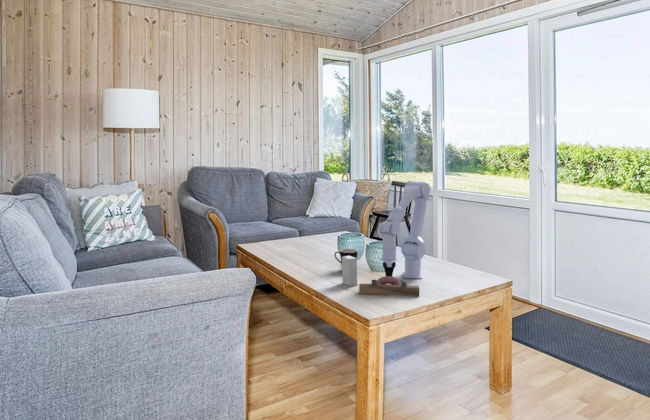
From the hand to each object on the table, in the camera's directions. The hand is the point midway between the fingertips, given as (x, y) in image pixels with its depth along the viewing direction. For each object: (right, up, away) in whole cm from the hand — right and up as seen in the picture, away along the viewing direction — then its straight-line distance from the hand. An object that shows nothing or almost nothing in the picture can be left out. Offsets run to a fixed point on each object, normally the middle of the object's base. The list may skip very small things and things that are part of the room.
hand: (388, 279), depth 198 cm
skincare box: (-17, -3, 0) cm, 17 cm away
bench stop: (-2, -4, -14) cm, 14 cm away
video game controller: (-2, -4, -9) cm, 10 cm away
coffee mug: (-17, +1, +23) cm, 29 cm away
